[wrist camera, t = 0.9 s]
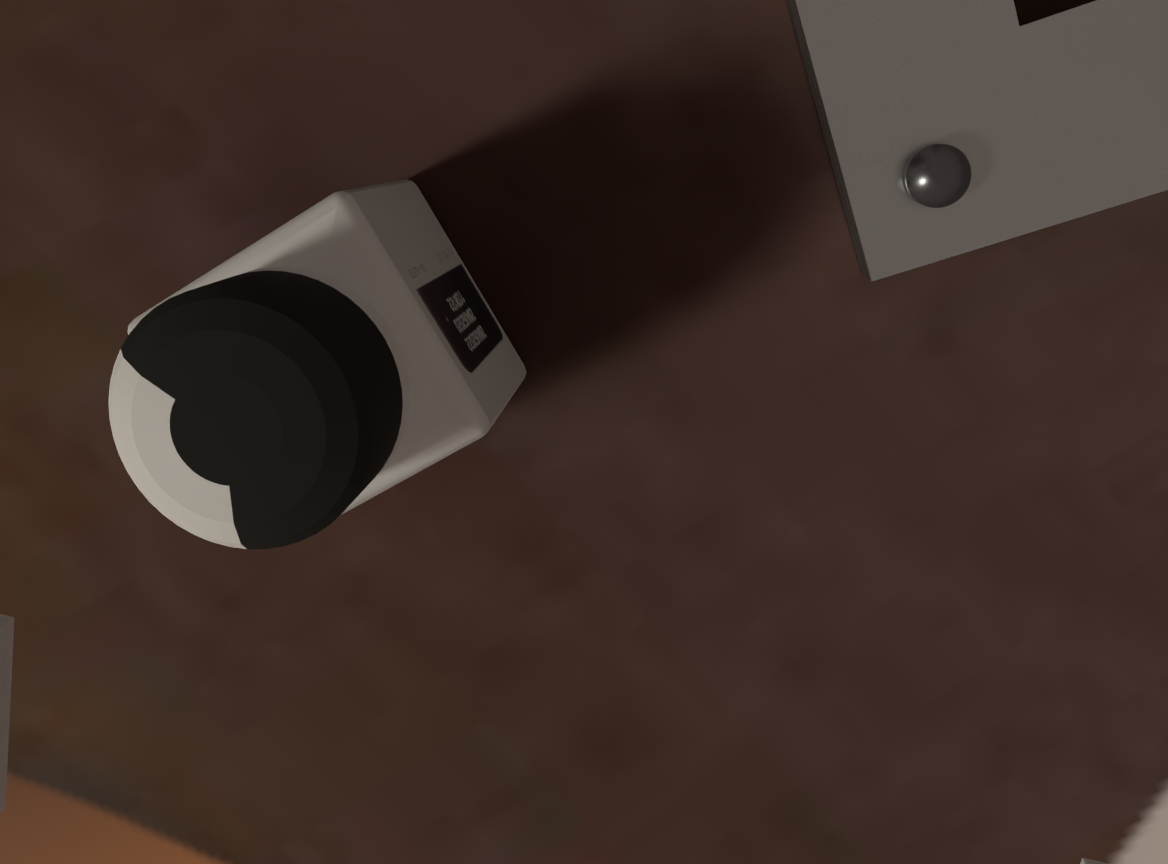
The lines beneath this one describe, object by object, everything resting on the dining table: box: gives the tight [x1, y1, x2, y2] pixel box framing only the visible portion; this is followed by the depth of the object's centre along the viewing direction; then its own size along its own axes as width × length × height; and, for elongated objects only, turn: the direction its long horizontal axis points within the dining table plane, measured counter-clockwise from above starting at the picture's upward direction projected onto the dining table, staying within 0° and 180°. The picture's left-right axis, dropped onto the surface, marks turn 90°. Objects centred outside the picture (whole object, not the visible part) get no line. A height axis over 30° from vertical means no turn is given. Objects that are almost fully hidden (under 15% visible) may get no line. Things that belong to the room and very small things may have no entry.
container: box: [109, 180, 526, 549], centre depth 32 cm, size 8×8×13 cm
